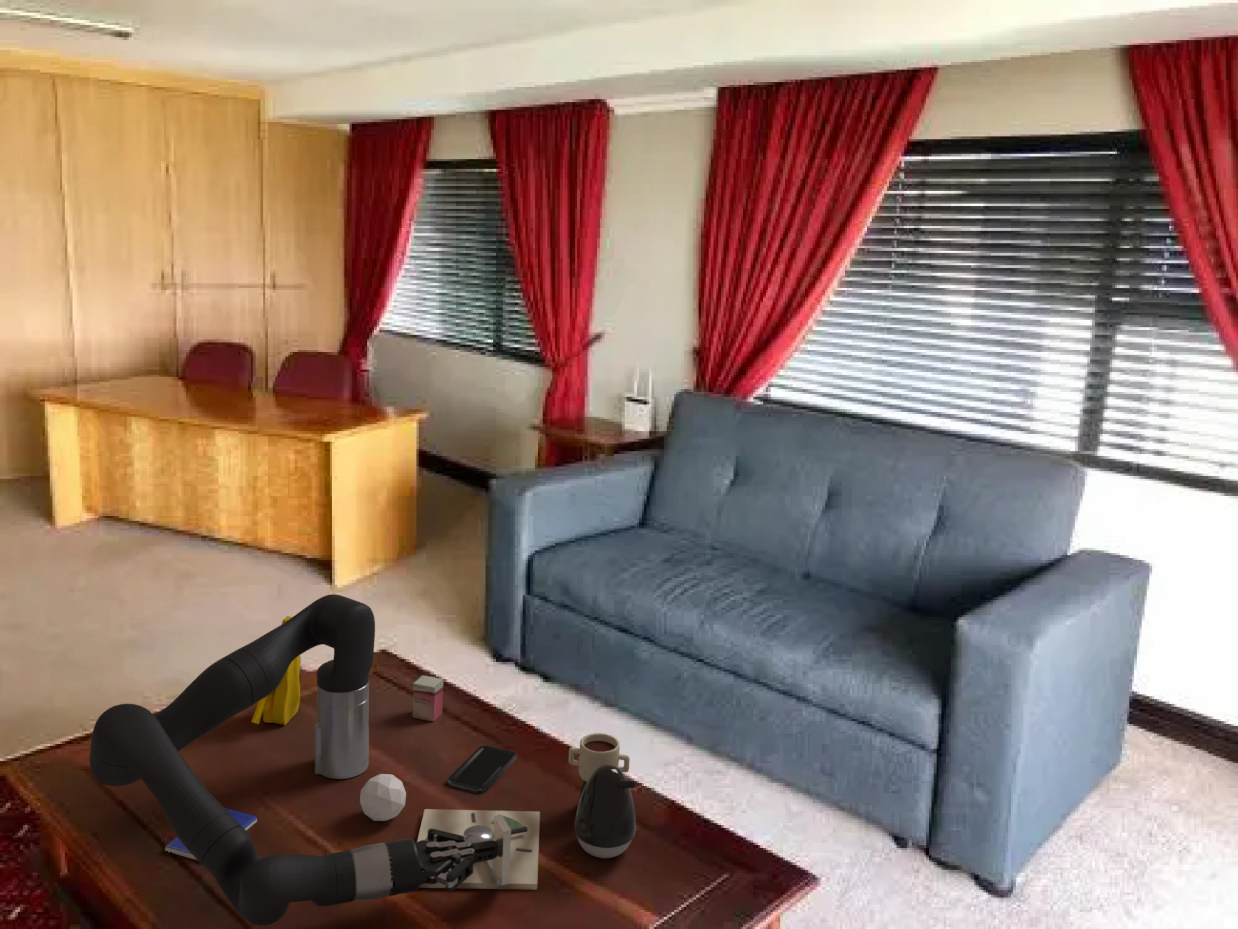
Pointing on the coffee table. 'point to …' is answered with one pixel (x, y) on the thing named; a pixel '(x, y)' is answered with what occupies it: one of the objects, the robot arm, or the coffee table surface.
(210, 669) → the robot arm
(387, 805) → the geometric ball
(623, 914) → the coffee table surface
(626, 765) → the character mug
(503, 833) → the key
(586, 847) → the pump dispenser
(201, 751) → the coffee table surface
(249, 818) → the hard drive
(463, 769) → the phone
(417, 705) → the small box
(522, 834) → the dial board
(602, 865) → the coffee table surface
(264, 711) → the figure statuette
